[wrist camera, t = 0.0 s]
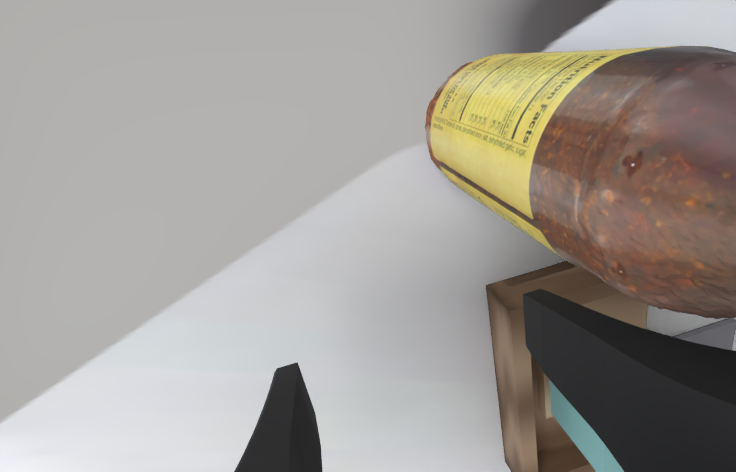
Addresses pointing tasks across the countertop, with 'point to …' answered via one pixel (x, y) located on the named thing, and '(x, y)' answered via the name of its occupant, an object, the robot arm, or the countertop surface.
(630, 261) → the sauce bottle
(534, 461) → the parts box
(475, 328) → the countertop surface
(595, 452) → the teal block
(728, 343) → the rubber mat
